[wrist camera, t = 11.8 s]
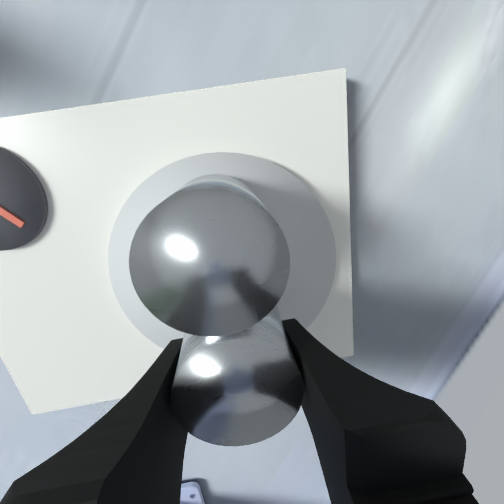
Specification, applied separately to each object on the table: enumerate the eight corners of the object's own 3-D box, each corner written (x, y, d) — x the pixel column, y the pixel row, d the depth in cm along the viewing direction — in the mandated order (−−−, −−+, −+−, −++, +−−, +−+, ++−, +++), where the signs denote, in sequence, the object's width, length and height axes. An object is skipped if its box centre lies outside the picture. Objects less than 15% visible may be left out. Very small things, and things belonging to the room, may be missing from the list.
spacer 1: (257, 271, 14) (276, 340, 9) (166, 263, 13) (128, 332, 8) (271, 180, 13) (303, 199, 7) (170, 167, 12) (129, 176, 7)
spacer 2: (285, 332, 15) (316, 423, 10) (208, 357, 15) (200, 460, 10) (261, 260, 14) (283, 323, 9) (176, 288, 14) (147, 368, 9)
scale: (345, 342, 18) (358, 362, 16) (44, 397, 17) (25, 423, 16) (335, 75, 13) (352, 63, 11) (-89, 137, 12) (-139, 134, 11)
